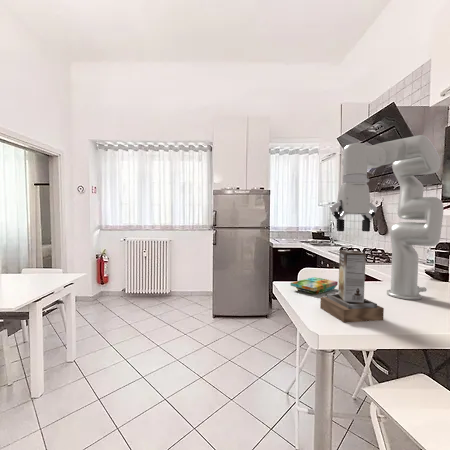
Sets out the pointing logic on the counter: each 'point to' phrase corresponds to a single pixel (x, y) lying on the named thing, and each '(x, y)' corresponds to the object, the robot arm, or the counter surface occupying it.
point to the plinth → (351, 309)
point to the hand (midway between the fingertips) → (353, 231)
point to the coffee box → (351, 276)
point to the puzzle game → (315, 285)
